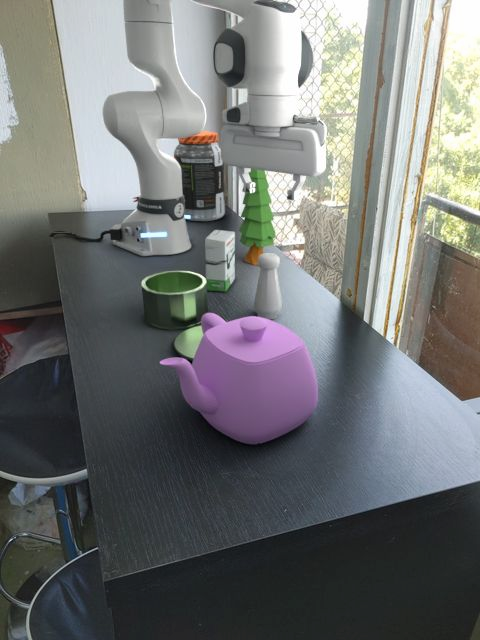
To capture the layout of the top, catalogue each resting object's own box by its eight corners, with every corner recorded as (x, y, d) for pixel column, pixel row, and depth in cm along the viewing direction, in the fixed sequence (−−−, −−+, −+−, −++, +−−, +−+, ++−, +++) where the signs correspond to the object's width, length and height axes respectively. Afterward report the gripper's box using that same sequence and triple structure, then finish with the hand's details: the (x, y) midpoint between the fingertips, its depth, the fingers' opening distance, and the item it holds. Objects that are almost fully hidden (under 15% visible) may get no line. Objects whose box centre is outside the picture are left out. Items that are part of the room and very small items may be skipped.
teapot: (246, 362, 91) (246, 281, 83) (333, 420, 76) (343, 328, 69) (125, 409, 78) (112, 318, 71) (203, 489, 64) (198, 385, 56)
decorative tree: (250, 253, 142) (251, 134, 127) (282, 258, 138) (287, 137, 124) (233, 264, 134) (232, 139, 120) (267, 270, 131) (270, 142, 116)
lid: (158, 351, 93) (156, 325, 91) (206, 323, 104) (205, 299, 101) (220, 374, 87) (219, 347, 84) (265, 342, 97) (265, 317, 95)
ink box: (226, 292, 118) (225, 241, 112) (205, 290, 118) (203, 239, 113) (235, 279, 125) (235, 230, 119) (215, 277, 126) (214, 228, 120)
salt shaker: (285, 312, 109) (287, 252, 103) (276, 323, 104) (279, 261, 98) (258, 308, 111) (259, 248, 104) (249, 319, 106) (249, 257, 100)
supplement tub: (234, 216, 175) (234, 133, 162) (198, 225, 165) (195, 137, 152) (203, 208, 184) (200, 128, 172) (167, 215, 174) (162, 132, 161)
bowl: (131, 319, 105) (127, 284, 101) (173, 299, 114) (171, 266, 110) (179, 336, 99) (177, 299, 95) (219, 313, 108) (219, 279, 104)
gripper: (335, 116, 86) (329, 200, 93) (235, 109, 96) (235, 186, 103) (318, 119, 82) (312, 207, 88) (214, 111, 91) (216, 191, 98)
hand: (270, 196), depth 96 cm, fingers open, 8 cm apart
